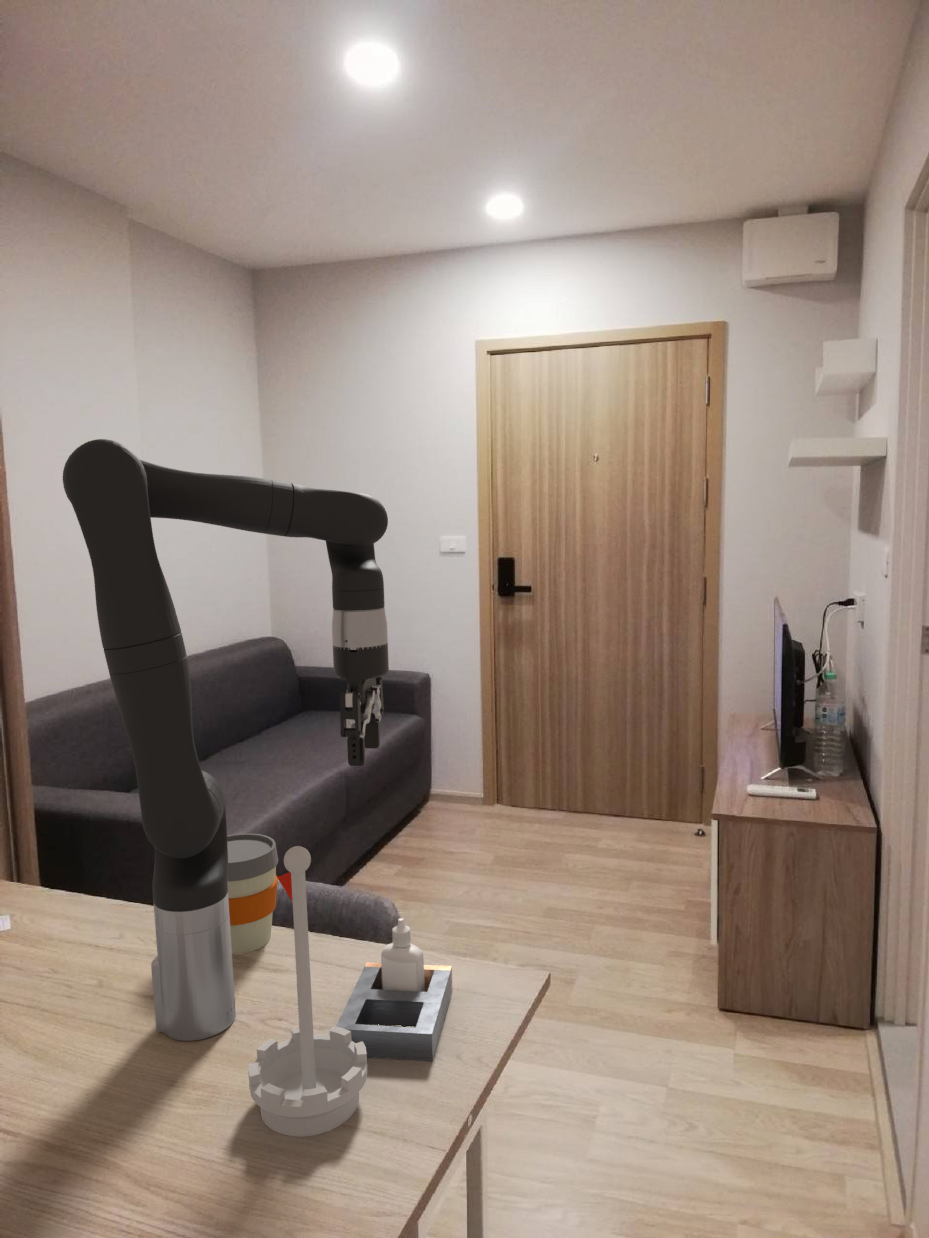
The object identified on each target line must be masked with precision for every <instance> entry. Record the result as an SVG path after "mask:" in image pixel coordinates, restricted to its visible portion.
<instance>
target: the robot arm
mask: <svg viewBox="0 0 929 1238" xmlns="http://www.w3.org/2000/svg"><path fill="white" fill-rule="evenodd" d="M62 484H63V489H64V492H65V495H66V497H67V499H68V501H69V502H70V504H71V506H72V508H73V511H74V514H75V516H76V519H77V521H78V524H79V528H80V530H81V532H82V537H83V538H84V539H83V540H84V541H85V545H86V548H87V551H88V556H89V558H90V563H91V566H92V572H93V573H92V574H93V581H94V584H93V585H94V593H95V596H94V597H95V605H96V615H97V622H98V628H99V633H100V639H101V645H102V649H103V653H104V658H105V661H106V665H107V669H108V674H109V678H110V681H111V684H112V687H113V691H114V695H115V698H116V702H117V705H118V710H119V713H120V716H121V721H122V724H123V728H124V730H125V733H126V736H127V739H128V741H129V746H130V749H131V752H132V757H133V762H134V767H135V768H134V770H135V775H136V782H137V789H138V798H139V807H140V815H141V822H142V828H143V832H144V834H145V836H146V838H147V840H148V842H150V844H151V845H152V846H153V848H154V865H153V866H154V867H153V875H152V885H151V886H152V899H153V900H152V901H153V912H154V913H153V914H154V915H153V916H154V926H155V939H156V940H155V941H156V953H157V955H156V956H155V957H154V958H153V959H152V961H151V964H150V966H151V968H150V969H151V980H152V981H151V982H152V992H153V993H152V994H153V1006H154V1008H153V1009H154V1020H155V1021H154V1022H155V1031H156V1032H157V1033H163V1034H165V1035H166V1036H167V1037H169V1038H171V1039H173V1040H178V1041H187V1042H189V1041H198V1040H204V1039H208V1038H210V1037H213V1036H215V1035H218V1034H220V1033H222V1032H223V1031H225V1030H226V1029H227V1028H229V1027H230V1026H231V1025H232V1024H233V1022H234V1021H235V1019H236V1012H237V1011H236V996H235V981H234V979H235V978H234V966H233V954H232V947H231V932H230V916H229V902H228V882H227V875H228V846H227V836H228V828H227V827H228V825H227V812H226V811H227V809H226V800H225V794H224V792H223V789H222V787H221V785H220V783H219V782H218V781H217V780H216V778H214V776H212V775H211V774H210V773H208V772H207V771H204V770H202V767H201V764H200V761H199V757H198V753H197V749H196V744H195V739H194V729H193V699H192V683H191V673H190V666H189V665H190V664H189V660H188V656H187V655H188V654H187V650H186V647H185V646H186V644H185V641H184V638H183V633H182V629H181V624H180V622H179V618H178V616H177V612H176V608H175V605H174V604H175V603H174V601H173V598H172V595H171V592H170V589H169V585H168V583H167V581H166V578H165V575H164V572H163V569H162V567H161V564H160V561H159V558H158V553H157V550H156V545H155V540H154V539H155V538H154V532H153V526H152V519H151V518H154V519H156V518H158V519H171V520H183V521H189V522H190V521H191V522H197V523H202V524H207V525H214V526H218V527H219V526H220V527H225V528H229V529H235V530H241V531H246V532H251V533H258V534H264V535H272V536H277V537H278V536H279V537H287V538H309V539H311V538H312V539H315V540H321V541H325V544H326V545H325V546H326V549H327V550H326V551H327V556H328V562H329V566H330V570H331V577H332V578H331V579H332V580H331V590H332V591H331V595H332V619H331V631H332V632H331V634H332V635H331V637H332V639H331V641H332V658H333V659H332V660H333V661H332V663H333V674H334V676H336V678H339V679H345V680H347V690H345V691H343V692H342V691H341V692H340V694H339V709H340V710H339V714H340V715H339V717H340V718H339V719H340V737H341V738H345V739H346V741H347V743H346V744H347V745H346V747H347V761H348V762H347V763H348V765H349V766H351V767H362V766H364V765H365V763H366V749H374V750H375V749H378V748H379V747H380V745H381V737H380V736H381V735H380V733H381V731H380V722H381V720H382V715H383V714H384V712H385V708H384V691H383V677H385V676H386V675H387V674H388V673H389V670H390V669H389V643H388V639H389V638H388V622H387V616H386V609H385V608H386V607H385V588H384V587H385V585H384V584H385V583H384V575H383V571H382V569H381V568H380V567H379V565H378V564H377V561H376V560H377V559H376V552H375V544H376V543H377V542H378V541H379V540H382V539H381V538H382V537H384V535H385V533H386V531H387V529H388V525H389V524H388V523H389V517H388V513H387V510H386V508H385V507H384V505H383V504H382V503H381V502H380V500H379V499H378V498H375V497H374V496H371V495H369V494H366V493H361V492H354V491H347V490H337V489H335V490H334V489H328V488H327V489H325V488H313V487H310V486H305V485H302V484H298V483H293V482H287V481H282V480H281V481H280V480H277V479H276V480H274V479H270V478H263V477H254V476H245V475H234V474H233V475H231V474H216V473H203V472H194V471H187V470H181V469H180V470H179V469H175V468H170V467H166V466H162V465H159V464H155V463H152V462H149V461H145V460H142V459H141V458H139V457H138V456H137V454H136V453H135V452H134V451H133V450H131V448H129V447H128V446H126V445H124V444H123V443H120V442H119V441H115V440H112V439H107V438H101V439H100V438H99V439H98V438H97V439H93V440H88V441H86V442H84V443H83V444H80V445H79V446H78V447H76V448H75V449H74V450H73V452H71V454H70V455H69V456H68V458H67V460H66V461H65V464H64V467H63V470H62ZM353 724H354V727H352V726H353Z"/></svg>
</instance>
